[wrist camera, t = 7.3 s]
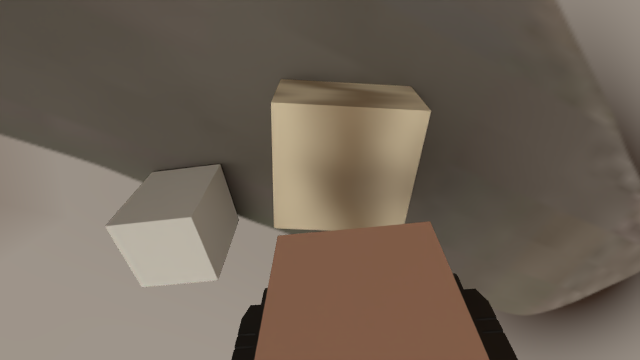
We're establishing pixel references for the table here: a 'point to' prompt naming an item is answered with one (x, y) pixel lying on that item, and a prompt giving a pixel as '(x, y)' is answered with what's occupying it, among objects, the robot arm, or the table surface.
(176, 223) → the grey block
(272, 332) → the terracotta block
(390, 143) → the birch base block
